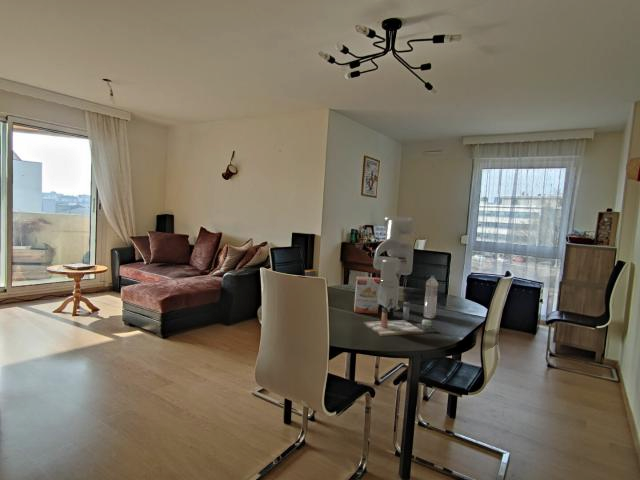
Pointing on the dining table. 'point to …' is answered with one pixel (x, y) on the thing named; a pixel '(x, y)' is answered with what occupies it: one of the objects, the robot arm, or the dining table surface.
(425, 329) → the button housing
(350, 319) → the dining table surface
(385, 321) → the marker terracotta
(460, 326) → the dining table surface
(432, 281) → the water bottle
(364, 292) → the cracker box
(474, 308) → the dining table surface
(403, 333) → the worksheet
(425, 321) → the button
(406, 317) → the slate
